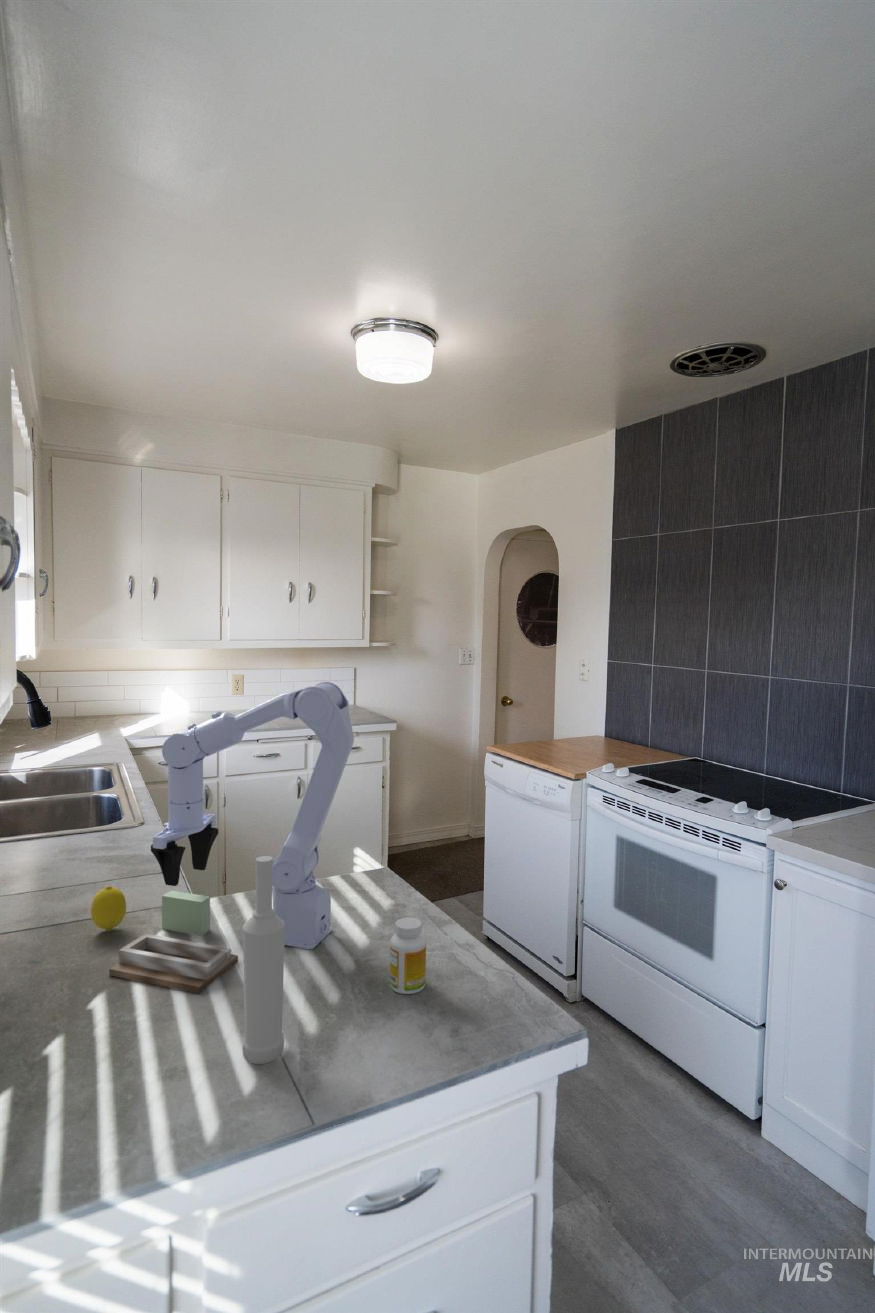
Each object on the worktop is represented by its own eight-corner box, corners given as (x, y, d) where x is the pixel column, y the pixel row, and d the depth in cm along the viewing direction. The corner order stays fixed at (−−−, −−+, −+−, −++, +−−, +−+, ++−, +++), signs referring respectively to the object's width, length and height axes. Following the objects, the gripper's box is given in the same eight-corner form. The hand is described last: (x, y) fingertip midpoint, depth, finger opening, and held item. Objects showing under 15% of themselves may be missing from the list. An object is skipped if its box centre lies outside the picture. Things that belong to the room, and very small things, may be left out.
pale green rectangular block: (210, 930, 122) (210, 896, 121) (201, 936, 119) (201, 902, 119) (171, 923, 124) (171, 890, 124) (162, 929, 122) (162, 895, 121)
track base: (238, 961, 111) (238, 943, 110) (199, 993, 101) (199, 973, 101) (154, 946, 115) (154, 928, 115) (109, 975, 106) (109, 956, 106)
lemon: (112, 940, 117) (112, 893, 117) (83, 936, 118) (83, 890, 118) (133, 926, 123) (133, 881, 122) (105, 922, 124) (105, 878, 123)
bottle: (246, 1040, 90) (247, 852, 89) (286, 1039, 91) (288, 851, 89) (238, 1066, 85) (238, 866, 84) (281, 1064, 85) (282, 866, 84)
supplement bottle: (430, 980, 106) (431, 918, 106) (417, 998, 101) (419, 933, 100) (397, 973, 108) (398, 912, 107) (384, 991, 103) (384, 927, 102)
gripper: (192, 788, 128) (192, 860, 129) (137, 808, 115) (137, 889, 115) (225, 791, 126) (225, 865, 127) (173, 812, 113) (173, 894, 113)
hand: (185, 876), depth 121 cm, fingers open, 7 cm apart
